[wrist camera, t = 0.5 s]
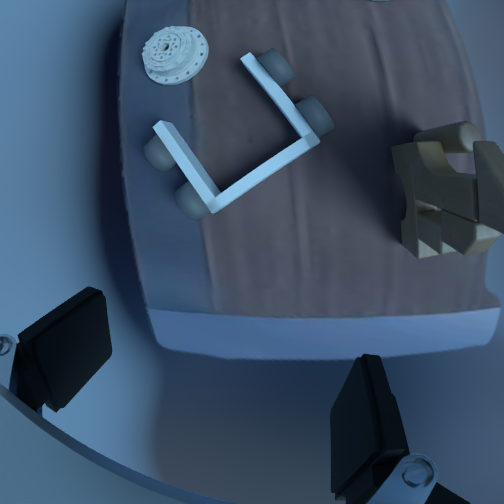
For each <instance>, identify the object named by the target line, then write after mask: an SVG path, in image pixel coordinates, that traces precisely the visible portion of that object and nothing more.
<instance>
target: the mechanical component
mask: <svg viewBox="0 0 504 504" xmlns="http://www.w3.org/2000/svg"><path fill="white" fill-rule="evenodd" d="M145 44H146V46H145V47H144V48H143V50H144V52H143V53H142V55H143V61H144V65H145V71H146V72H147V74H148V76H149V77H150V78H151V79H153V80H154V81H156V82H158V83H160V84H163V85H176V84H180V83H183V82H185V81H187V80H189V79H190V78H192V77H193V76H194V75H196V74H197V73H198V72H199V71H200V69H201V68H202V67H203V66H204V63H205V61H206V59H207V57H208V52H209V49H208V43H207V40H206V39H205V37H204V36H203V35H202V34H201V33H200V32H199V31H198V30H196V29H194V28H191V27H179V26H177V27H174V26H171V27H165V28H164V29H162V30H160V31H159V32H156V33H154V35H153V36H152V37H151V38H150V40H149V41H148V42H146V43H145Z"/></svg>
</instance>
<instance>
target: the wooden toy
mask: <svg viewBox="0 0 504 504" xmlns="http://www.w3.org/2000/svg"><path fill="white" fill-rule="evenodd" d="M391 151H392V157H393V163H394V169H395V173H397V174H398V175H399V177H400V178H401V180H402V183H403V186H404V189H405V195H406V204H407V211H406V217H405V218H404V220H401V234H402V245H403V246H404V247H405V248H406V249H407V250H409V251H410V252H411V253H412V254H413V255H414V256H415V257H417V258H418V259H421V258H427V257H433V256H438V255H439V254H440V255H443V254H449V253H454V252H460V253H461V254H463V255H469V254H474V253H479V252H484V251H487V250H489V249H490V247H491V246H492V245H493V244H494V243H495V242H496V240H497V239H498V238H499V237H500V232H501V233H503V234H504V154H503V153H502V151H501V149H500V148H499V146H498V145H497V144H496V143H495V142H492V141H481V137H480V133H479V131H478V129H477V127H476V126H475V125H474V124H472V123H471V122H468V121H463V122H458V123H454V124H450V125H445V126H441V127H437V128H433V129H429V130H425V131H421V132H418V133H416V134H415V136H414V139H413V142H412V143H404V144H399V145H394V146H391ZM446 153H474V160H475V168H476V174H467V173H457V172H456V171H455V170H454V169H453V168H452V167H451V165H450V164H449V163H448V160H447V158H446V156H445V154H446ZM438 208H441V209H442V210H441V212H440V211H438Z"/></svg>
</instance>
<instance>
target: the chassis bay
mask: <svg viewBox="0 0 504 504" xmlns="http://www.w3.org/2000/svg"><path fill="white" fill-rule="evenodd" d="M240 59H241V61H242V62H243V64H244V66H245V67H246V68H247V70H248V71H249V72H250V73H251V74H252V75H253V77H254V78H255V79H256V80H257V81H258V83H259V84H260V85H261V86H262V88H263V89H264V90H265V91H266V92H267V94H268V95H269V96H270V97H271V99H272V100H273V101H274V103H275V104H276V105H277V106H278V108H279V109H280V110H281V112H282V113H283V114H284V116H285V117H286V118H287V120H288V121H289V122H290V124H291V125H292V126H293V128H294V129H295V130H296V132H297V133H298V135H299V136H300V137H301V139H300V140H298V141H296V142H295V143H293V144H292V145H290V146H289V147H287V148H286V149H284V150H283V151H281V152H280V153H278V154H277V155H275V156H274V157H272V158H271V159H269V160H268V161H266V162H265V163H263V164H262V165H260V166H259V167H257V168H256V169H255V170H253V171H252V172H250V173H249V174H247V175H246V176H244V177H243V178H242V179H240V180H239V181H237V182H236V183H235V184H233V185H232V186H230V187H229V188H228V189H226V190H225V191H223V192H222V193H221V192H220V191H219V189H218V188H217V186H216V185H215V184H214V182H213V181H212V179H211V178H210V176H209V175H208V174H207V172H206V171H205V169H204V168H203V166H202V165H201V164H200V162H199V161H198V159H197V158H196V156H195V155H194V154H193V152H192V151H191V149H190V148H189V146H188V145H187V144H186V142H185V141H184V139H183V138H182V137H181V135H180V134H179V132H178V131H177V130H176V128H175V127H174V125H173V124H172V123H170V122H166V121H162V120H160V121H159V122H158V123H157V124H156V125H155V126H154V127H153V129H154V130H155V132H156V133H157V134H156V135H155V136H154V137H153V138H152V139H151V140H150V141H149V142H148V143H146V144H145V145H144V147H143V152H144V154H145V156H146V158H147V160H148V161H149V162H150V163H151V164H152V165H153V166H154V167H155V168H156V169H158V170H159V171H161V172H168V171H169V170H170V169H171V168H172V167H173V166H175V165H176V164H178V165H179V167H180V168H181V170H182V171H183V172H184V174H185V175H186V177H187V178H188V181H187V182H186V183H185V184H184V185H182V186H181V187H180V188H179V189H177V190H176V191H175V199H176V202H177V204H178V206H179V207H180V209H181V210H182V211H183V212H184V213H185V214H186V215H187V216H188V217H189V218H190V219H192V220H195V221H198V220H199V219H201V218H202V217H203V216H205V215H206V214H208V213H209V212H210V211H211V213H212V214H214V213H216V212H217V211H219V210H221V209H222V208H224V207H225V206H226V205H228V204H229V203H231V202H232V201H234V200H235V199H236V198H238V197H239V196H241V195H242V194H244V193H245V192H246V191H248V190H249V189H251V188H252V187H254V186H255V185H257V184H258V183H260V182H261V181H263V180H264V179H265V178H267V177H268V176H270V175H271V174H273V173H274V172H276V171H277V170H279V169H280V168H282V167H283V166H285V165H286V164H288V163H290V162H291V161H293V160H294V159H296V158H297V157H299V156H300V155H302V154H303V153H305V152H307V151H308V150H310V149H311V148H313V147H314V146H316V145H318V144H319V143H320V140H319V137H321V136H323V135H324V134H326V133H327V132H329V131H331V130H332V129H334V128H335V127H334V124H333V121H332V119H331V117H330V116H329V114H328V113H327V111H326V110H325V108H324V107H323V106H322V104H321V103H320V102H319V101H318V100H317V99H316V98H315V97H314V96H313V95H310V96H308V97H307V98H305V99H303V100H302V101H300V102H298V103H297V104H295V105H294V104H293V103H292V102H291V100H290V99H289V98H288V97H287V95H286V94H285V93H284V92H283V90H282V89H281V87H282V86H284V85H286V84H287V83H289V82H291V81H292V80H294V79H295V78H296V77H295V74H294V72H293V70H292V69H291V67H290V66H289V64H288V63H287V61H286V60H285V59H284V58H283V57H282V56H281V54H280V53H279V52H277V51H276V50H275V49H273V48H272V49H270V50H269V51H267V52H265V53H264V54H262V55H260V56H259V57H257V58H255V57H254V56H253V55H252V54H251V53H248V54H247V55H245V56H244V57H242V58H240Z"/></svg>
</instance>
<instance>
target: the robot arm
mask: <svg viewBox="0 0 504 504" xmlns="http://www.w3.org/2000/svg"><path fill="white" fill-rule="evenodd" d="M372 1H389V0H372ZM18 338H19V341H20V342H19V343H18V344H17V343H16V340H15V339H14V338H13V337H12V336H10V335H8V334H0V504H236V503H231V502H227V501H222V500H218V499H214V498H211V497H207V496H203V495H200V494H196V493H193V492H190V491H187V490H184V489H181V488H178V487H174V486H172V485H169V484H166V483H164V482H161V481H158V480H155V479H153V478H151V477H148V476H146V475H144V474H141V473H139V472H137V471H134V470H132V469H130V468H128V467H126V466H123V465H121V464H119V463H117V462H115V461H113V460H111V459H109V458H107V457H105V456H104V455H102V454H100V453H98V452H96V451H94V450H93V449H91V448H89V447H87V446H86V445H84V444H82V443H80V442H79V441H77V440H76V439H74V438H72V437H71V436H69V435H68V434H66V433H64V432H63V431H62V430H60V429H59V428H57V427H56V426H54V425H53V424H51V423H50V422H49V421H47V420H46V419H44V418H43V417H42V405H43V404H44V403H45V404H46V406H47V407H49V408H50V409H52V410H53V411H54V412H57V411H58V410H59V409H60V408H64V407H65V406H66V405H67V404H68V403H69V402H70V400H71V399H72V398H73V397H74V396H75V395H76V394H77V393H78V392H79V390H80V389H81V388H82V387H83V386H84V385H85V384H86V383H87V382H88V381H89V379H90V378H91V377H92V376H93V375H94V374H95V373H96V372H97V371H98V370H99V369H100V368H101V366H102V365H103V364H104V363H105V362H106V361H107V360H108V359H109V358H110V356H111V354H112V345H111V339H110V331H109V324H108V316H107V307H106V298H105V296H104V295H103V292H102V291H101V290H98V289H95V288H92V287H86V288H85V289H83V290H82V291H80V292H79V293H77V294H76V295H74V296H73V297H71V298H70V299H68V300H67V301H65V302H64V303H62V304H61V305H59V306H58V307H56V308H55V309H53V310H52V311H50V312H49V313H48V314H46V315H45V316H43V317H42V318H40V319H39V320H38V321H36V322H35V323H34V324H32V325H31V326H29V327H28V328H26V329H25V330H24V331H22V332H21V333H19V334H18ZM330 427H331V492H332V493H335V500H346V504H470V503H469V502H468V501H466V500H464V499H463V498H461V497H459V496H458V495H456V494H455V493H453V492H451V491H450V490H448V489H446V488H445V487H443V486H442V485H440V484H439V483H437V482H436V481H437V478H438V470H437V468H436V465H435V464H434V462H433V461H432V460H431V459H430V458H428V457H427V456H424V455H421V454H410V452H409V448H408V444H407V440H406V435H405V431H404V428H403V424H402V420H401V416H400V413H399V409H398V405H397V402H396V398H395V396H394V395H393V394H392V393H391V390H390V387H389V383H388V380H387V377H386V373H385V370H384V367H383V364H382V361H381V358H380V356H378V355H370V354H363V355H362V356H361V357H357V358H356V360H355V362H354V364H353V366H352V369H351V371H350V373H349V375H348V377H347V379H346V381H345V383H344V385H343V387H342V389H341V391H340V393H339V396H338V398H337V399H336V401H335V403H334V405H333V407H332V409H331V413H330Z"/></svg>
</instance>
